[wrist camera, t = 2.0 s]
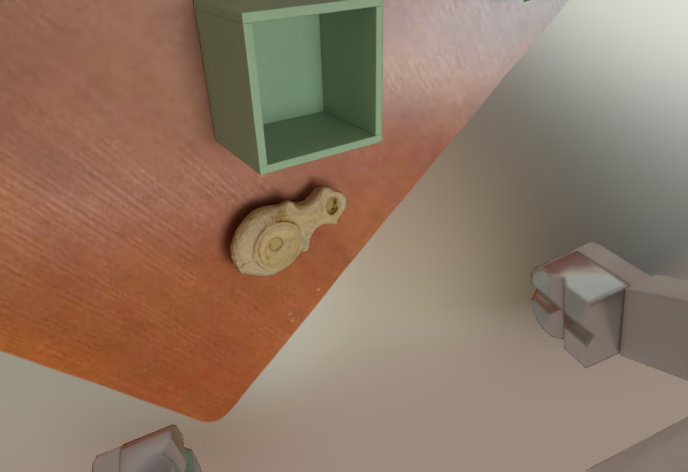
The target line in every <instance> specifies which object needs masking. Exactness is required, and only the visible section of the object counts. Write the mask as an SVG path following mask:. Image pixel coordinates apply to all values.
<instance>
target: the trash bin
mask: <svg viewBox="0 0 688 472" xmlns="http://www.w3.org/2000/svg"><path fill="white" fill-rule="evenodd" d="M193 1H194V8H195V14H196V20H197V27H198V33H199V39H200V45H201V52H202V58H203V64H204V71H205V77H206V83H207V89H208V96H209V102H210V108H211V114H212V121H213V127H214V133H215V140H216V141H217V142H219V143H220V144H221V145H223V146H224V147H225V148H226V149H228V150H229V151H230V152H232V153H233V154H234V155H235V156H237V157H238V158H239V159H241V160H242V161H243V162H245V163H246V164H247V165H248V166H250V167H251V168H252V169H254V170H255V171H256V172H257V173H259V174H260V175H263V174H266V173H270V172H273V171H277V170H281V169H284V168H288V167H292V166H295V165H299V164H302V163H306V162H310V161H313V160H317V159H320V158H324V157H328V156H331V155H335V154H338V153H342V152H346V151H349V150H353V149H356V148H360V147H364V146H367V145H371V144H374V143H378V142H381V141H382V135H381V134H382V73H383V0H193Z"/></svg>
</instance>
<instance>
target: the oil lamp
mask: <svg viewBox="0 0 688 472" xmlns="http://www.w3.org/2000/svg"><path fill="white" fill-rule="evenodd" d="M346 203H347V200H346V196H345V195H344V194H343V193H342V192H340V191H336V190H331V189H330V188H328V187H326V186H321V187H318V188H316V189H315V190H314V191H313V192H312V193H311V194H310V195H309V196H308V197H307V198H306V199H305V200H304V201H299V202H297V203H295V202H291V201H290V200H286V201H283V202H281V203H280V204H277V205H267V206H263V207H260V208H257V209H255V210H253V211H252V212H251V213H250V214H248V215H247V216H246V217H245V219H244V220H243V221H242V223H241V224H240V225H239V227H238V228H237V230H236V231H235V234H234V236H233V239H232V243H231V245H230V250H231V258H232V260H233V262H234V265H235V268H236V269H237V270H238V271H239V273H246V274H248V275H257V276H266V275H271V274H275V273H277V272H279V271H281V270H283V269H284V268H286V267H287V266H288V265H290V264H291V263H292V262H293V261H294V260H295V259H296V257H297V256H298V255H299V253H300V252H305V251H307V250H308V249H309V244H310V237H311V235H312V233H313V232H314V230H315V229H316V228H318V227H319V226H320V225H322V224H333V225H335V224H337V219H338V217H339V216H340V215H341V214H342V213H343V211H344V209H345V206H346Z"/></svg>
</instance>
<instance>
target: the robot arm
mask: <svg viewBox="0 0 688 472" xmlns="http://www.w3.org/2000/svg"><path fill="white" fill-rule="evenodd" d="M531 283H532V284H533V285H534V286H535V287H536V288H537V289H536V291H535V293H534V295H533V297H532V309H533V312H534V314H535V317H536V319H537V321H538V323H539V324H540V325H541V327H542V328H543V329H544V330H545V331H546V332H547V333H548V334H549V335H550V336H552V337H555V338H559V339H563V340H564V349H565V350H566V351H567V352H568V353H570V354H571V355H572V356H573V357H574V358H575V359H576V360H577V361H578V362H580V363H581V364H582V365H583V366H584V367H585V368H588V367H590V366H592V365H594V364H597V363H599V362H601V361H603V360H606V359H608V358H610V357H612V356H615V355H617V354H619V353H620V356H623V357H626V358H629V359H631V360H634V361H637V362H639V363H642V364H645V365H647V366H650V367H653V368H655V369H658V370H661V371H663V372H666V373H669V374H672V375H674V376H677V377H680V378H682V379H685V380H688V280H686V279H680V278H674V277H669V276H663V275H655V276H653V277H650V276H649V275H647V274H646V273H644V272H642V271H641V270H639V269H638V268H636V267H634V266H633V265H631V264H630V263H628V262H626V261H625V260H623V259H621V258H620V257H618V256H616V255H615V254H613V253H611V252H610V251H608V250H607V249H605V248H604V247H602V246H600V245H599V244H597V243H589V244H586V245H584V246H582V247H579V248H577V249H575V250H573V251H571V252H569V253H566V254H564V255H562V256H560V257H557V258H555V259H553V260H551V261H549V262H546V263H544V264H541V265H539V266H537V267H535V268H533V270H532V272H531ZM92 472H202V471H201V468H200V465H199V463H198V461H197V459H196V456H195V455H194V453H193V451H192V450H191V449H188V448H185V447H184V441H183V435H182V433H181V432H180V431H179V429H178V427H177V426H176V425H170V426H167V427H165V428H163V429H160V430H158V431H155V432H152V433H150V434H148V435H145V436H143V437H140V438H138V439H135V440H133V441H130V442H128V443H125V444H123V445H122V446H120V447H117V448H115V449H112V450H110V451H107V452H105V453H102V454H100V455H97V456H96V458H95V460H94V462H93V466H92ZM583 472H688V417H686V418H684V419H682V420H680V421H678V422H677V423H675V424H673V425H671V426H669V427H667V428H665V429H663V430H661V431H659V432H657V433H656V434H654V435H652V436H650V437H648V438H646V439H644V440H642V441H640V442H638V443H636V444H634V445H633V446H631V447H629V448H627V449H625V450H623V451H621V452H619V453H617V454H615V455H614V456H611V457H610V458H608V459H606V460H604V461H602V462H600V463H598V464H596V465H594V466H592V467H590V468H589V469H587V470H585V471H583Z"/></svg>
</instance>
